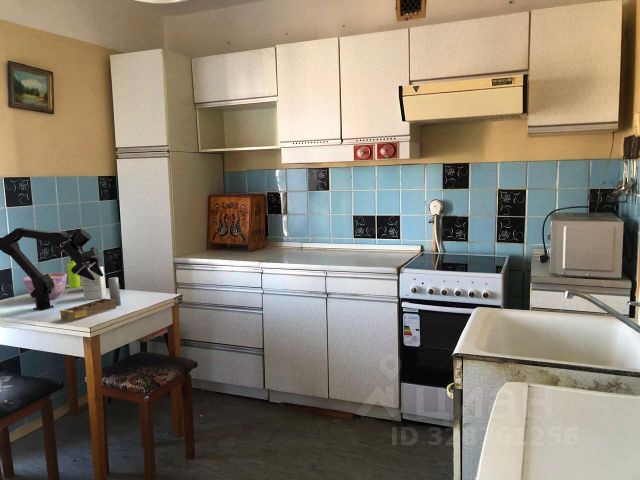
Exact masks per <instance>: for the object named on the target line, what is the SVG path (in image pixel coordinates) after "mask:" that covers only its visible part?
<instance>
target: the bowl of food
mask: <svg viewBox="0 0 640 480" xmlns="http://www.w3.org/2000/svg"><path fill="white" fill-rule="evenodd" d="M42 274H43V275H45V274H48V275H49V276H50V277H51V278H52V279H53V282H54V288H53V289H52V292H51V293H50V294H49V299H50V301H51V300H53V299H56V298H58V297H59V296H60V295H61V294H63V293H64V291H65V289H66V285H67V284H66V283H67V277H68V273H66V272H46V273H42ZM22 281H23V284H24V285H25V288H26V291H27V293H28V295H29V296H30V297H31V298H32V296H31V293H32V291H33V290H34V289H35V288H34V286H33V284H32V280H31V278H30V277H29V276H26V277H24V278H23V279H22Z"/></svg>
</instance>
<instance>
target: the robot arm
mask: <svg viewBox="0 0 640 480" xmlns="http://www.w3.org/2000/svg"><path fill="white" fill-rule="evenodd" d="M23 238H28V239H29V238H30V239H35V240H43V241H46V242H48V243H49V244H53V245H56V246H58V245H59V246H58V253H59V254H60V253H63V252H64V253H66V255H67V256H68V258H71V259H70V260H71V261H74V262H75V263H76V265H75V266H74V267H73V268H72V269H71V272H72V273H73V274H76V273H77V274H76V275H80V277H81V276H83V277H85V278H88V279H90V280H93V281H94V280H95V278H94V276H93V275H92V274H91V272H90V271H89V270H91V271H92V272H94V273H96V274H98V275H99V276H101V277H102V276H103V273H102V271H101V269H100V267H101V266H100V262H101V259H100V257H99V254H100V253H99V251H100V249H99V248H98V247H95V246H92V247H91V248H89V250H87V251H85V250H84V249H83V250H82V249H80V248H83V247H84V246H85V245H86V244H87V243H88V242H90V240H92V236H91V234H90V233H89V232H87V231H86V230H83V229H82V228H79V229H78V230H76V232H74V234H70V233H68V232H67V231H65V230H55V231H47V230H46V231H45V230H39V229H33V228H25V227H16V228H15V229H14V230H12V231H10V232H9V233H8V234H6V235H4V236H3V237H0V251H1V252H2V253H4V254H5V255H8V256H9V257H10V258H12V260H13V261H14V262H15V263H16V264H17V266H19V268H20V269H21V270H22V271H23V272H24V273H25V274H26V276H27V277H30V278H31V280H32V284H33V286H34V288H35V289H34V290H33V291H32V293H31V296H32V297H31V296H30V297H31V298H32V299H34V300H35V307H33V309H32V310H37V311H43V310H46V309H51V308H54V305H51V300H50V299H49V294H50V293H51V292H52V289H53V288H54V282H53V279H52V278H51V277H50V276H49V275H48V274H46V273H41V271H39V269H38V268H37V267H36V266H35V265H34V264H33V263H32V262H31V260H30V259H29V258H28V257H27V256H26V255H25V254H24V252H23V251H22V250H21V249H20V248H21V247H20V244H19V241H20V240H22V239H23ZM62 244H63V245H62ZM61 245H62V246H61ZM88 268H89V270H88ZM43 274H45V275H43Z"/></svg>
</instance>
